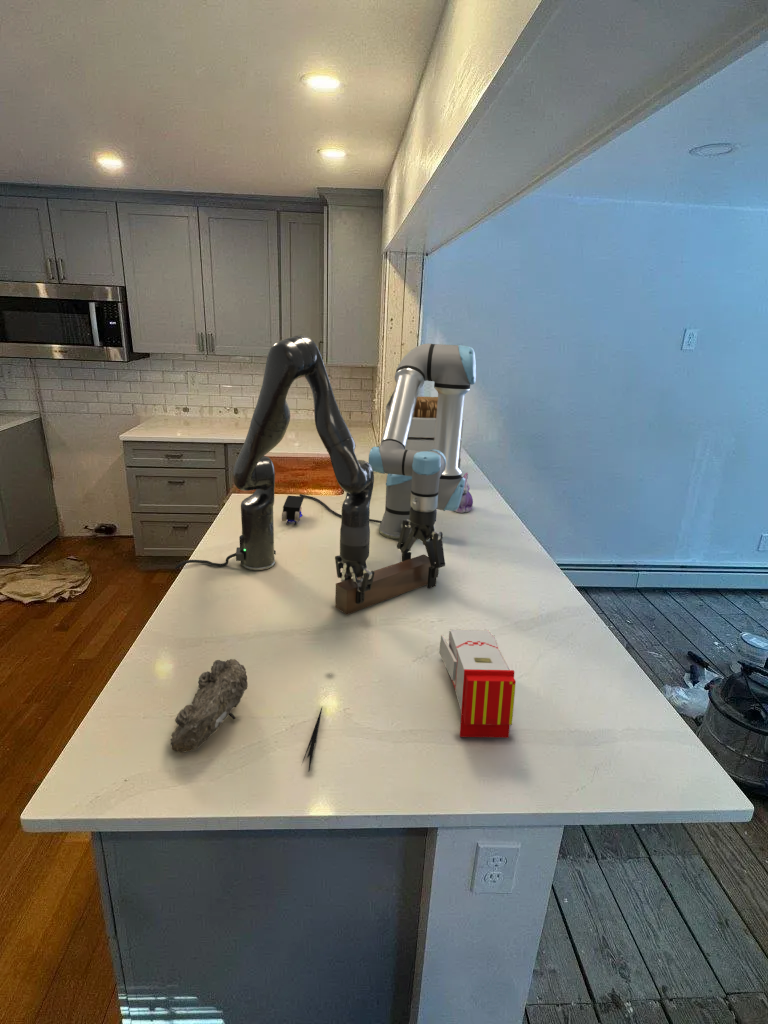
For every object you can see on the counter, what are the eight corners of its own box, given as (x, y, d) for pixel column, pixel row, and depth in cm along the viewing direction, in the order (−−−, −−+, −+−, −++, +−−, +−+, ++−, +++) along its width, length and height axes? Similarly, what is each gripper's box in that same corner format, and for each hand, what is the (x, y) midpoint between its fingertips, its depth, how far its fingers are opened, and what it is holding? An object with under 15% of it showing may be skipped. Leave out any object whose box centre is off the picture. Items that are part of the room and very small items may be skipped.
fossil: (195, 660, 117) (247, 628, 112) (227, 691, 120) (279, 661, 115) (146, 746, 98) (206, 711, 93) (185, 779, 101) (245, 748, 96)
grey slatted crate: (381, 463, 289) (385, 382, 275) (444, 464, 292) (450, 384, 279) (389, 482, 257) (393, 392, 243) (459, 483, 261) (467, 394, 247)
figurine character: (300, 531, 202) (304, 512, 215) (299, 512, 198) (304, 494, 212) (281, 530, 201) (287, 511, 215) (280, 511, 198) (286, 493, 211)
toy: (489, 613, 130) (525, 677, 101) (485, 667, 133) (518, 744, 104) (437, 612, 130) (457, 676, 101) (434, 666, 133) (453, 743, 103)
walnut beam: (335, 607, 149) (335, 583, 147) (422, 575, 169) (423, 554, 167) (346, 615, 146) (347, 590, 144) (434, 581, 166) (435, 560, 163)
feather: (331, 679, 122) (336, 673, 122) (307, 777, 96) (313, 769, 95) (324, 675, 122) (329, 669, 121) (298, 772, 95) (304, 764, 95)
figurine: (459, 514, 221) (463, 477, 216) (445, 506, 229) (448, 470, 224) (479, 511, 225) (483, 475, 220) (464, 503, 234) (467, 468, 228)
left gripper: (326, 533, 146) (325, 592, 152) (360, 552, 136) (358, 614, 142) (349, 527, 151) (348, 584, 157) (384, 545, 141) (381, 605, 147)
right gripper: (386, 499, 163) (383, 569, 170) (443, 522, 147) (437, 598, 155) (405, 494, 168) (401, 563, 175) (463, 517, 152) (456, 591, 159)
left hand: (353, 598), depth 149 cm, fingers closed on walnut beam, 5 cm apart
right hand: (418, 579), depth 165 cm, fingers open, 10 cm apart
